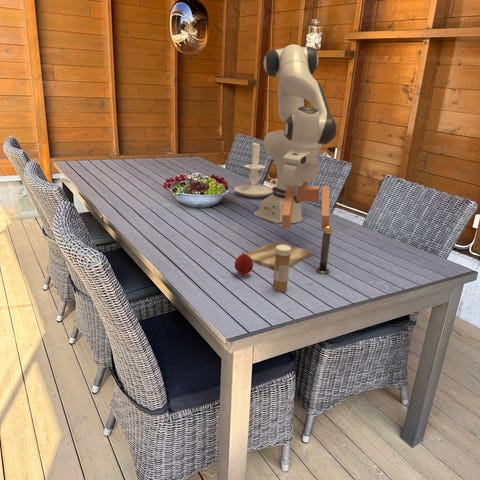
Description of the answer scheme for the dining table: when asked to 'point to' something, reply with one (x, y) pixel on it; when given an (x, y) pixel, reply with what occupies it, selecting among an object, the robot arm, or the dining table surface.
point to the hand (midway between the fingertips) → (299, 194)
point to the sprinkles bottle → (281, 267)
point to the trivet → (268, 254)
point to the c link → (306, 196)
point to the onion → (243, 264)
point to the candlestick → (255, 177)
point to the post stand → (324, 250)
